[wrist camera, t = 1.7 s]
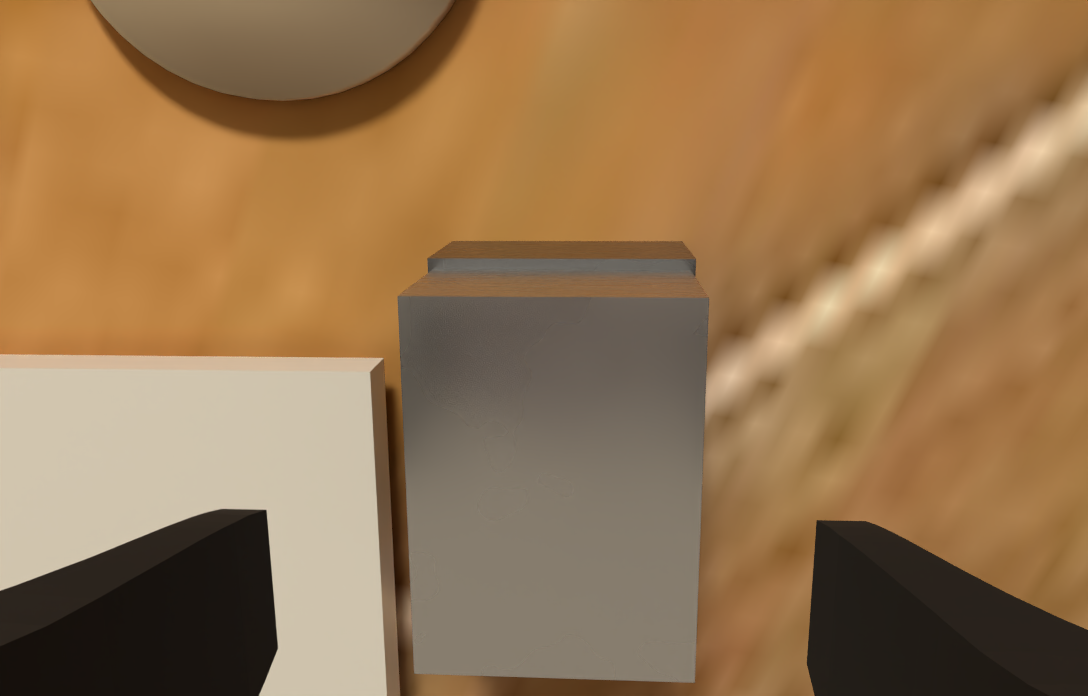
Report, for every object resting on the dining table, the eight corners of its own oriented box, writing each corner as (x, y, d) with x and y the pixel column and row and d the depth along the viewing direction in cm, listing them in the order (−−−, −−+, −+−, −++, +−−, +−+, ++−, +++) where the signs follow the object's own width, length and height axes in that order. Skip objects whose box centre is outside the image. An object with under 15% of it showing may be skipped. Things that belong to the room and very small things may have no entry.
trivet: (411, 804, 23) (395, 860, 21) (-35, 786, 24) (-86, 838, 22) (390, 351, 20) (370, 371, 18) (-114, 347, 21) (-179, 366, 19)
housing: (672, 538, 21) (700, 693, 15) (461, 534, 21) (408, 684, 15) (681, 241, 19) (716, 284, 13) (453, 240, 20) (391, 283, 14)
